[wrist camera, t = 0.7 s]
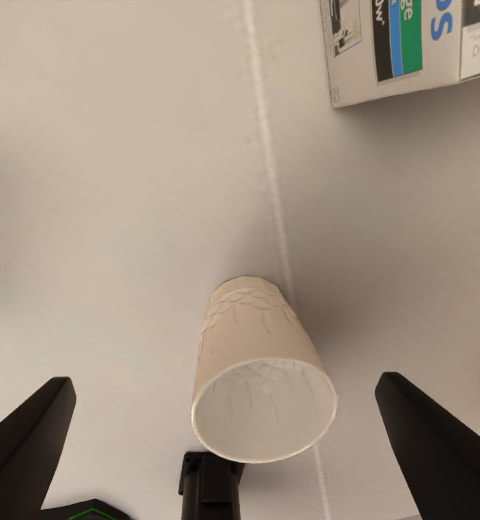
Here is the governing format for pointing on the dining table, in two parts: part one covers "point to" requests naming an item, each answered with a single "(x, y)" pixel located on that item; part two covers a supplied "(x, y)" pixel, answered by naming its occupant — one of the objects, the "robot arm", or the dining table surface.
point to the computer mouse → (83, 512)
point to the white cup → (258, 377)
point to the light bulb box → (398, 46)
